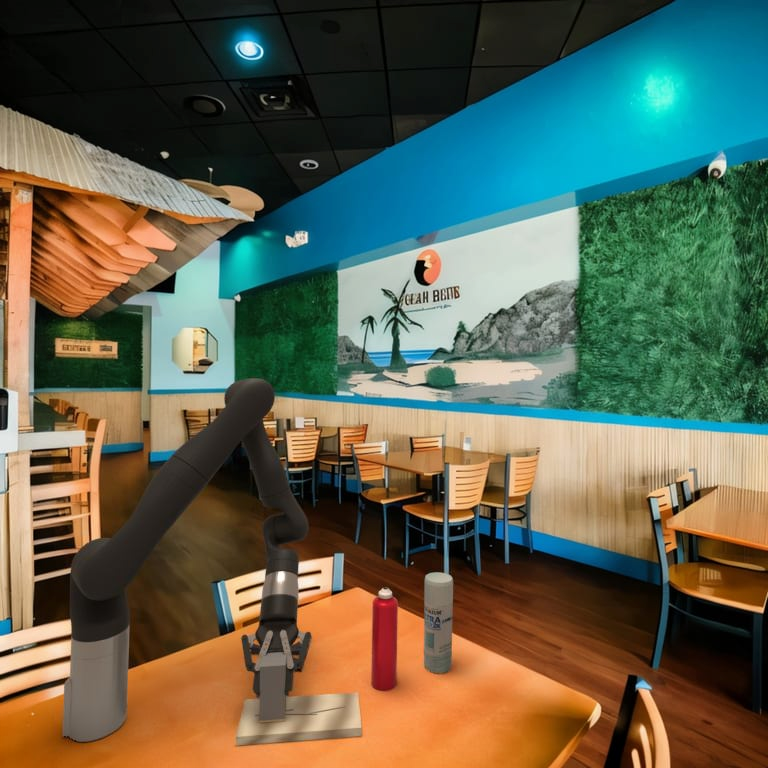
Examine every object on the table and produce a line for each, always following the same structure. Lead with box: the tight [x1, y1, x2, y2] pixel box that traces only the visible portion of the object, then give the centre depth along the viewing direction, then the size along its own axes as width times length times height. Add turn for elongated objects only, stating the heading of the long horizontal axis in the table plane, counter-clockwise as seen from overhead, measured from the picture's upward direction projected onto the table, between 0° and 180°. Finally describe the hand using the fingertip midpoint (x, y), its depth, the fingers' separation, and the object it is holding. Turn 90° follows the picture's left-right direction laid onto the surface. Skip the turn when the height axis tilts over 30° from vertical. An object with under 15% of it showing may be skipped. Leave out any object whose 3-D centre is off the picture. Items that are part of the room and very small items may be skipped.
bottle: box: [370, 586, 399, 692], centre depth 100 cm, size 5×5×20 cm
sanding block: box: [259, 652, 287, 723], centre depth 87 cm, size 5×5×10 cm
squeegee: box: [250, 635, 313, 673], centre depth 110 cm, size 14×15×3 cm
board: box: [235, 691, 363, 747], centre depth 87 cm, size 22×10×2 cm, turn 97°
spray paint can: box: [423, 571, 454, 674], centre depth 106 cm, size 6×6×20 cm
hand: (272, 694), depth 85 cm, fingers closed on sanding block, 4 cm apart
